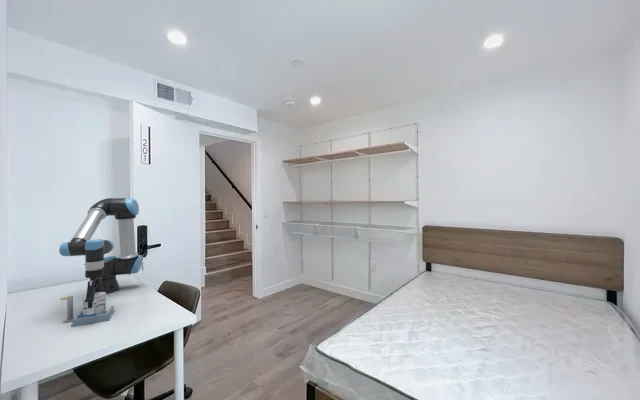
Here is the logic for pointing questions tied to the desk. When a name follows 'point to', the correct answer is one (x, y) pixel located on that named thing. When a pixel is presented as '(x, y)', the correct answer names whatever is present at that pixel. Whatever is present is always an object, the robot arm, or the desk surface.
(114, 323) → the desk surface
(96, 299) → the ink box
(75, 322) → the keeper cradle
